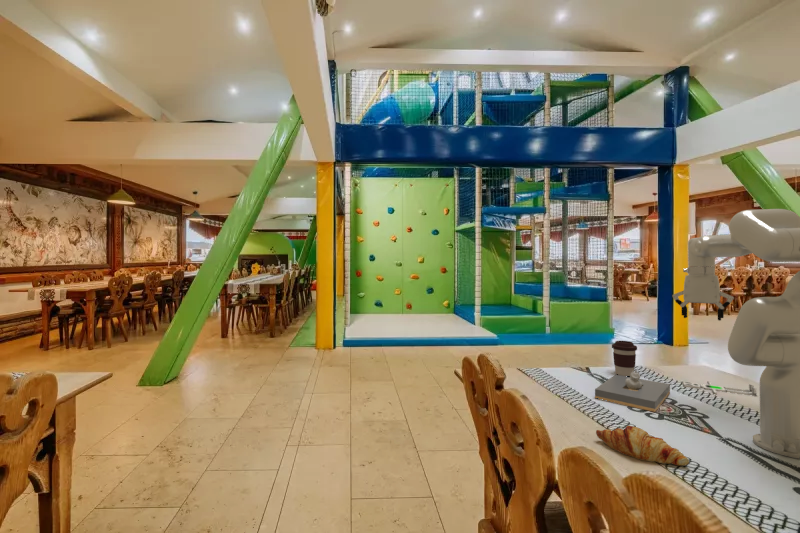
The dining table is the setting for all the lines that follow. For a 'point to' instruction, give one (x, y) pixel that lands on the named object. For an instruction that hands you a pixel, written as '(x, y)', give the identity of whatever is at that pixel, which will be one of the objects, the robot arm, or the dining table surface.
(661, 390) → the block
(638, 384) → the rubber duck
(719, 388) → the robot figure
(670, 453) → the croissant
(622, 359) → the coffee cup
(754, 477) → the dining table surface
